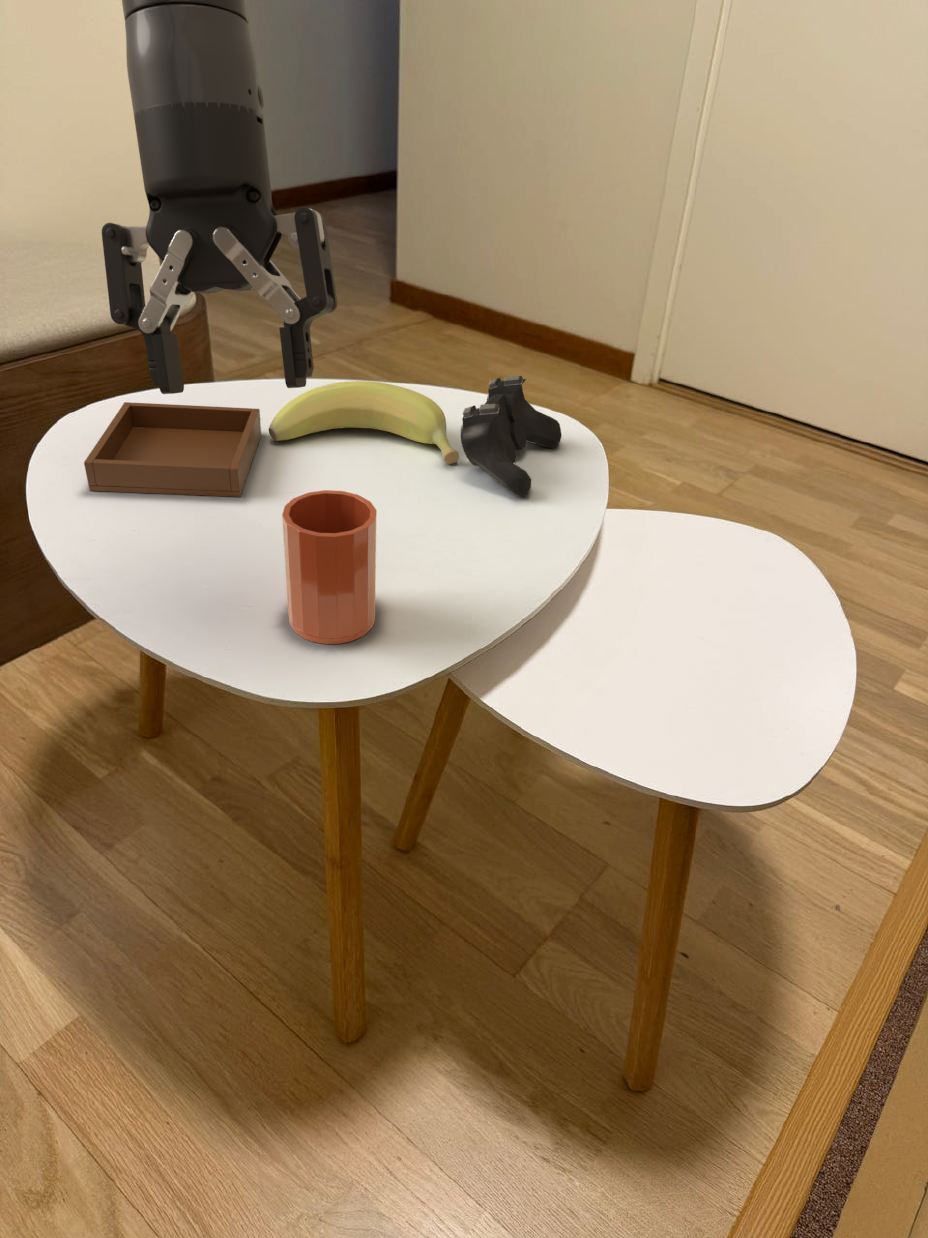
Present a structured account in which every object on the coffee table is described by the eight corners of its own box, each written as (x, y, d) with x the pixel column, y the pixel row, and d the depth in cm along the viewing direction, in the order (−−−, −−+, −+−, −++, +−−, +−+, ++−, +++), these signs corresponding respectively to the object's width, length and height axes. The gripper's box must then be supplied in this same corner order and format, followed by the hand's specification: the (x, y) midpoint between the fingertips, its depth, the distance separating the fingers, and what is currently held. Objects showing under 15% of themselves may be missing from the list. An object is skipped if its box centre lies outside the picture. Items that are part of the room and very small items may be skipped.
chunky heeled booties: (515, 452, 107) (484, 374, 103) (568, 438, 104) (538, 356, 99) (472, 513, 94) (435, 427, 90) (530, 499, 91) (494, 408, 87)
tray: (89, 490, 87) (83, 462, 86) (128, 428, 99) (124, 401, 97) (240, 497, 88) (237, 469, 87) (261, 434, 100) (259, 408, 98)
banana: (334, 347, 103) (484, 410, 98) (337, 386, 108) (481, 448, 102) (260, 412, 96) (417, 484, 90) (267, 450, 100) (417, 521, 95)
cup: (284, 643, 70) (277, 534, 64) (294, 592, 76) (288, 488, 70) (373, 645, 71) (374, 538, 65) (376, 595, 76) (378, 492, 71)
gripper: (53, 108, 51) (103, 399, 56) (292, 83, 49) (322, 388, 54) (120, 136, 58) (159, 392, 63) (331, 115, 56) (354, 382, 61)
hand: (234, 390), depth 58 cm, fingers open, 8 cm apart
